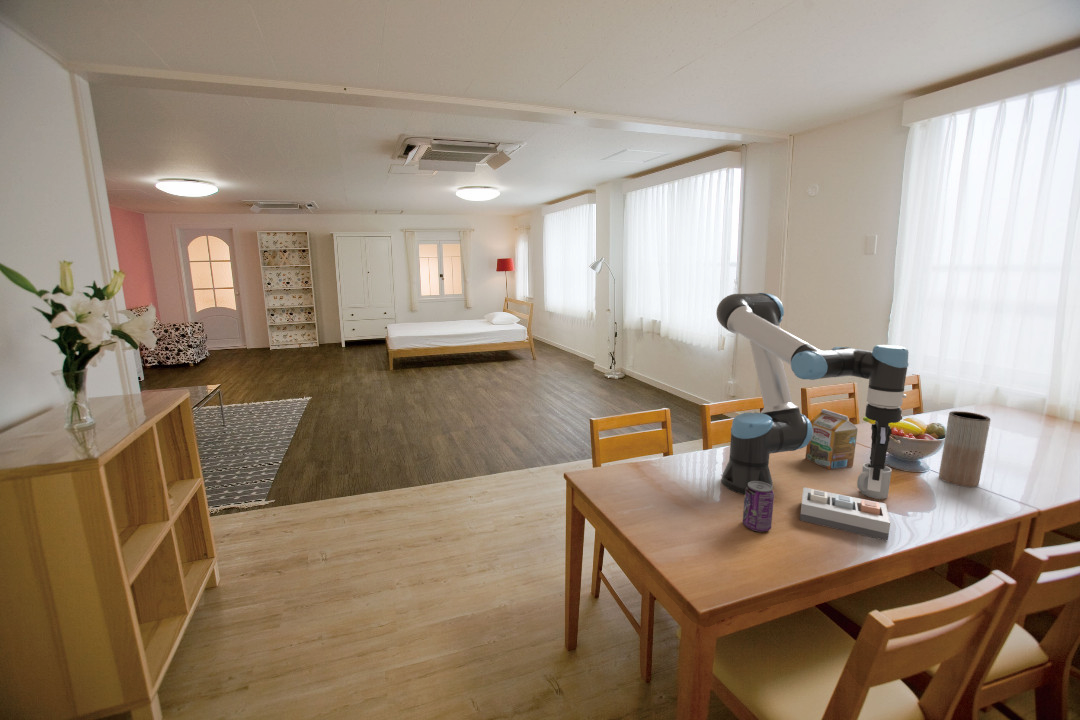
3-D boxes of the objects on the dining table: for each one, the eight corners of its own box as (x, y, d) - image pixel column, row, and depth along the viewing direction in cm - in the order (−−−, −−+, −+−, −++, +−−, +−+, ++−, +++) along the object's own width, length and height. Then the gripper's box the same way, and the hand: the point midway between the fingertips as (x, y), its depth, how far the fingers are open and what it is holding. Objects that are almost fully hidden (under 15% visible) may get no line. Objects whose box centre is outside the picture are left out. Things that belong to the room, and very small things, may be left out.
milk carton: (805, 458, 175) (810, 409, 172) (827, 455, 179) (832, 407, 175) (830, 469, 166) (836, 418, 162) (852, 466, 169) (859, 415, 165)
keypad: (799, 520, 132) (801, 503, 131) (801, 502, 142) (803, 487, 141) (887, 540, 122) (890, 523, 121) (883, 520, 132) (885, 503, 131)
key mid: (834, 509, 130) (835, 499, 130) (834, 503, 134) (835, 493, 133) (851, 513, 128) (853, 502, 128) (851, 507, 132) (852, 497, 131)
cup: (893, 498, 145) (897, 471, 143) (866, 501, 143) (870, 473, 141) (872, 487, 152) (876, 461, 150) (846, 490, 150) (850, 464, 148)
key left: (809, 504, 133) (811, 494, 133) (810, 498, 137) (811, 488, 136) (826, 508, 131) (827, 497, 131) (826, 502, 135) (827, 491, 134)
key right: (860, 515, 127) (862, 504, 127) (859, 509, 131) (861, 498, 130) (878, 519, 125) (880, 508, 125) (877, 512, 129) (878, 502, 128)
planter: (949, 485, 153) (960, 418, 149) (932, 473, 163) (942, 409, 158) (986, 489, 151) (998, 421, 147) (966, 476, 160) (977, 411, 156)
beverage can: (746, 517, 133) (750, 477, 131) (773, 525, 129) (777, 484, 127) (738, 527, 128) (742, 486, 126) (766, 536, 123) (771, 494, 121)
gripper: (905, 413, 115) (893, 502, 119) (898, 401, 126) (888, 483, 130) (868, 408, 119) (858, 496, 123) (864, 397, 130) (855, 478, 134)
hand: (873, 489), depth 126 cm, fingers closed
